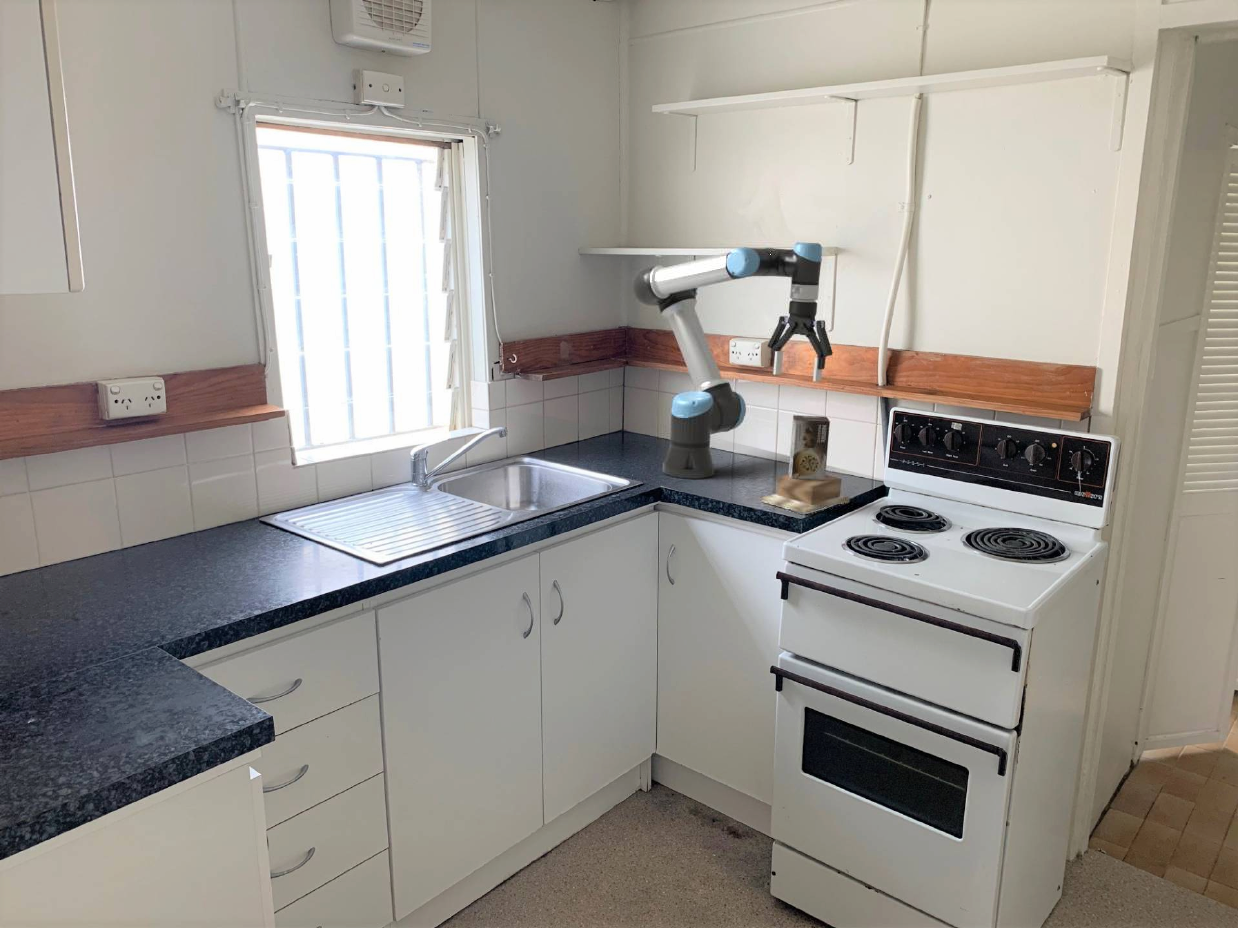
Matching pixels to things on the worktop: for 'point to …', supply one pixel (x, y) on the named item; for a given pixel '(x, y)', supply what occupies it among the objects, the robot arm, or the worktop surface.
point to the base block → (809, 489)
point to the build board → (802, 506)
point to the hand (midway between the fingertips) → (796, 377)
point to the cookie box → (809, 447)
